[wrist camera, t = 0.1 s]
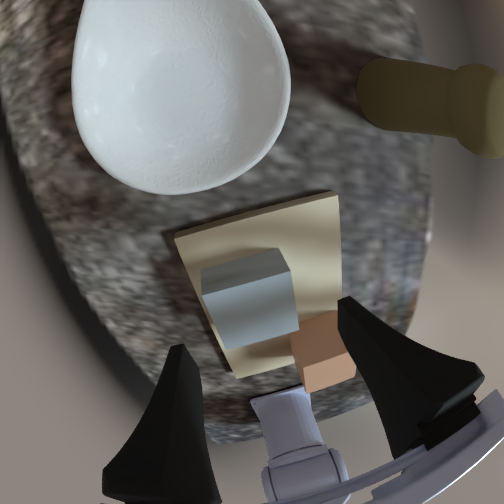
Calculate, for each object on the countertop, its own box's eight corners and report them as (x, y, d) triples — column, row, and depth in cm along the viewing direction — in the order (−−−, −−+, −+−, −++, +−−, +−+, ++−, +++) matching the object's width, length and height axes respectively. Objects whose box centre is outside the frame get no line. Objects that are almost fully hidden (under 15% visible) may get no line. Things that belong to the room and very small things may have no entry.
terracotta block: (336, 341, 28) (354, 376, 24) (292, 355, 28) (306, 394, 24) (336, 309, 25) (359, 347, 21) (287, 325, 25) (303, 367, 21)
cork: (353, 125, 18) (473, 167, 8) (357, 49, 15) (480, 38, 5) (412, 135, 19) (521, 181, 9) (417, 68, 16) (531, 84, 6)
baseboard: (337, 341, 30) (350, 367, 26) (235, 371, 29) (240, 401, 26) (331, 190, 20) (357, 211, 17) (174, 232, 20) (170, 262, 16)
